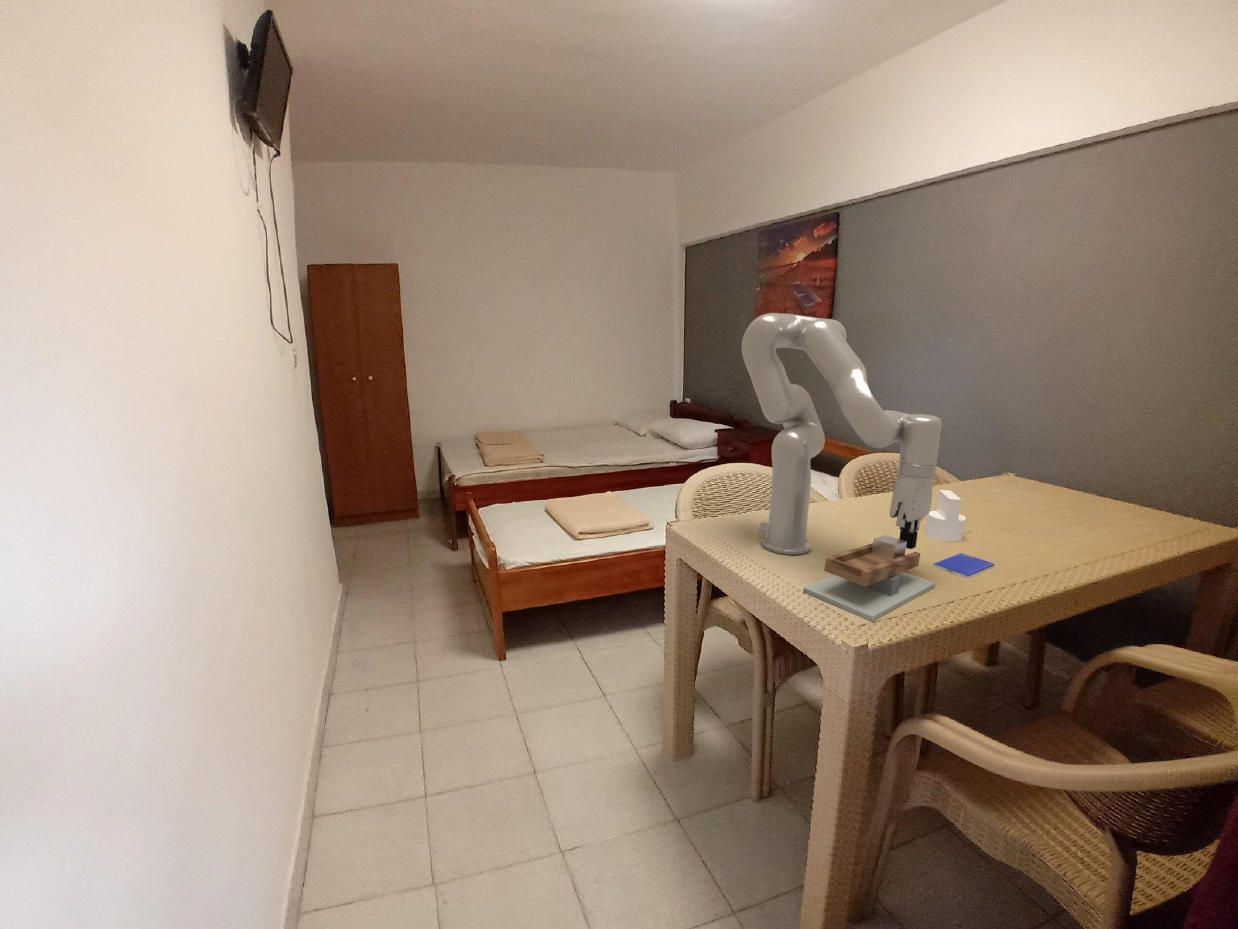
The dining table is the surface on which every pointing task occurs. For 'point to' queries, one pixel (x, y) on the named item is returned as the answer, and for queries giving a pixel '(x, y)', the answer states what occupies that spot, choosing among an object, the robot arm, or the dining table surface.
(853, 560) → the beam
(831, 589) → the beam stand
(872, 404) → the robot arm
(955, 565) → the hard drive
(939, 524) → the base with upright slab
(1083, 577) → the dining table surface
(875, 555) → the steel block
